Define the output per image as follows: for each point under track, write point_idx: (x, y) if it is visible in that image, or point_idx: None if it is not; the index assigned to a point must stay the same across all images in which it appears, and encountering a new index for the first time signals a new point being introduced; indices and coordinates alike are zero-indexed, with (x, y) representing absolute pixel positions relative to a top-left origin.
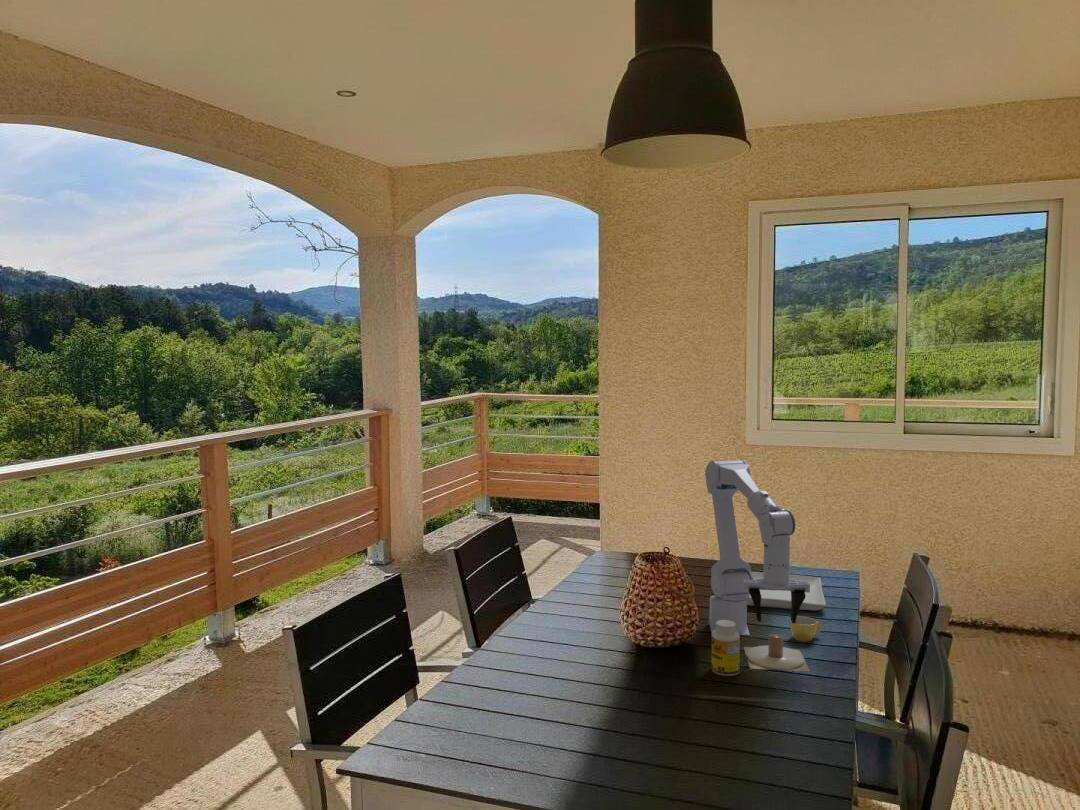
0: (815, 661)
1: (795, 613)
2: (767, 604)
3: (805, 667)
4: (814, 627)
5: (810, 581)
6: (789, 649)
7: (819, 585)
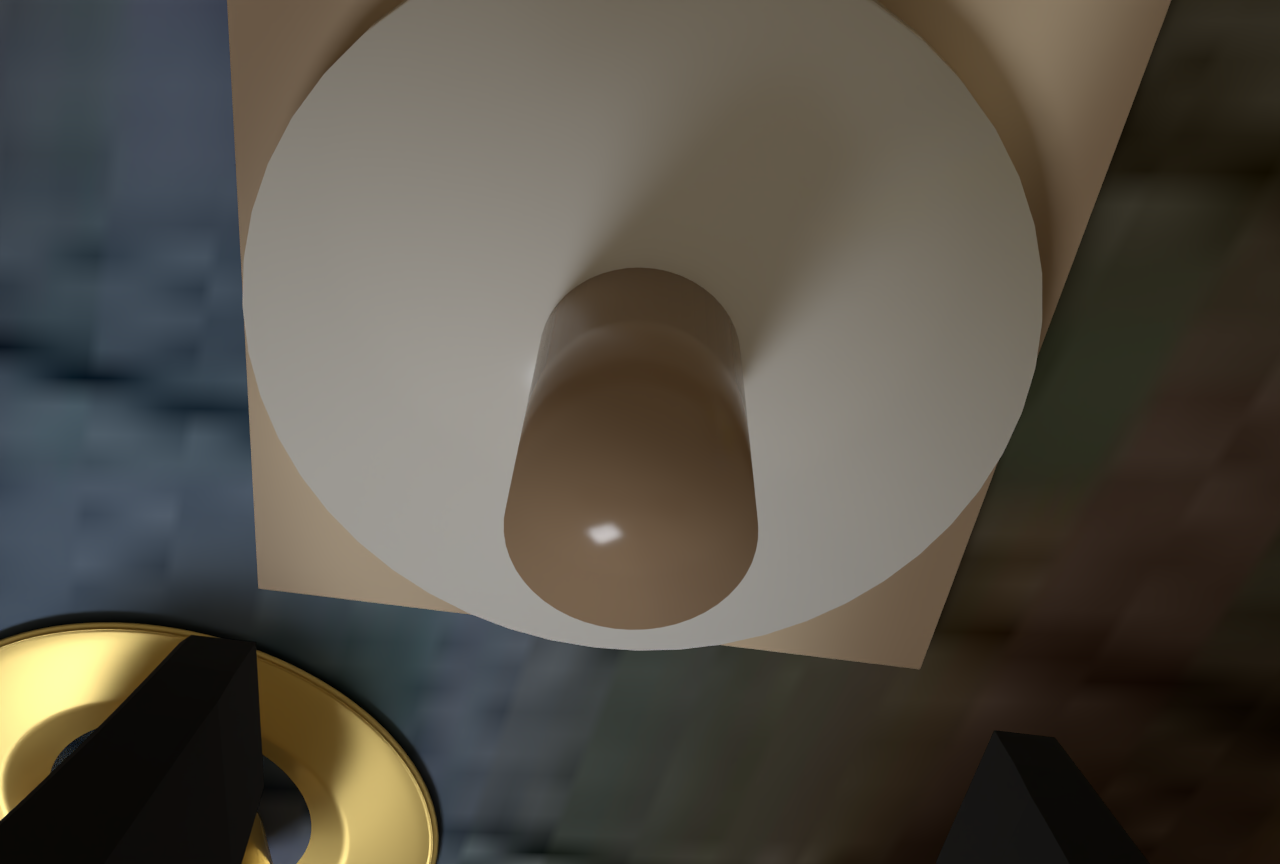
0: (101, 308)
1: (68, 818)
2: None
3: (270, 16)
4: None
5: None
6: (393, 536)
7: None
